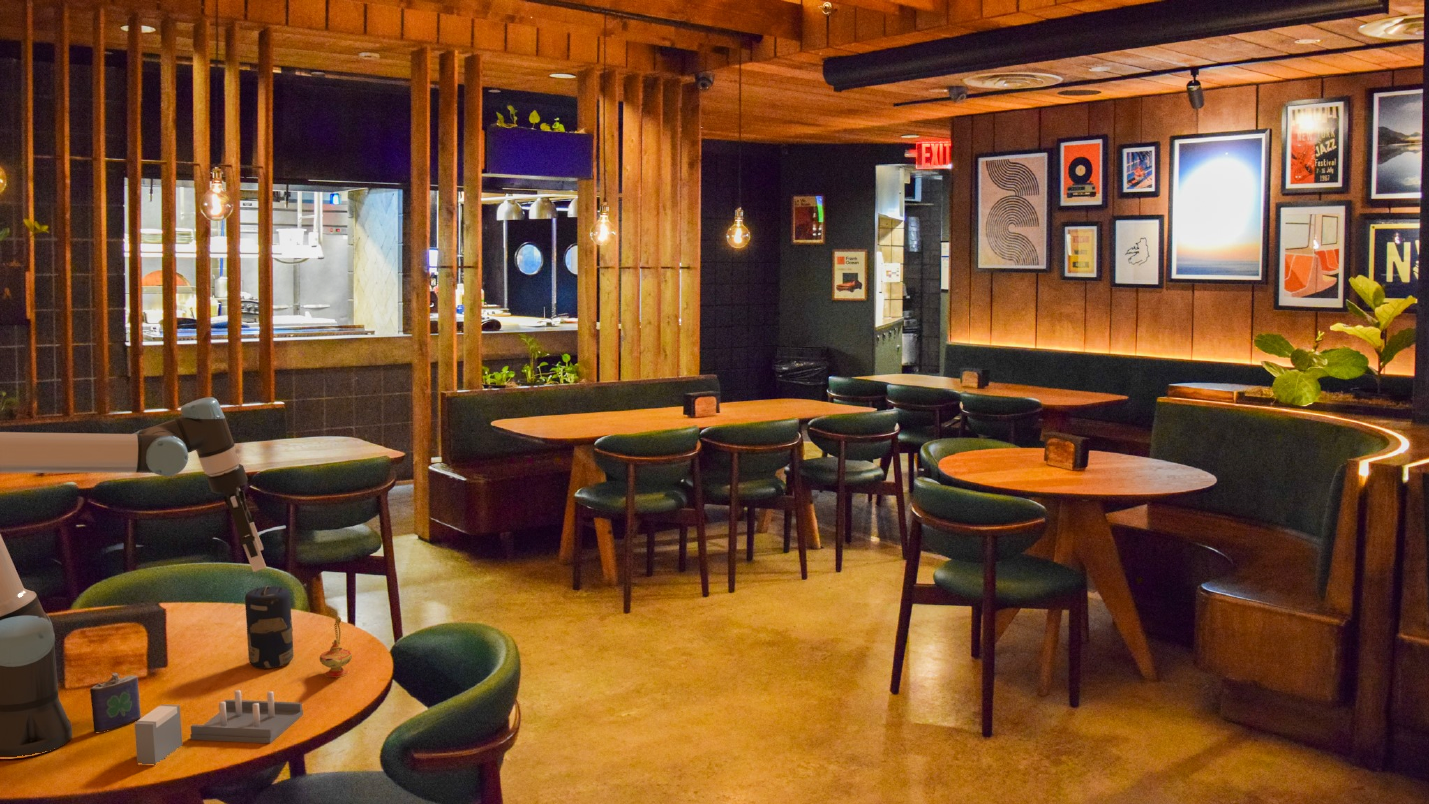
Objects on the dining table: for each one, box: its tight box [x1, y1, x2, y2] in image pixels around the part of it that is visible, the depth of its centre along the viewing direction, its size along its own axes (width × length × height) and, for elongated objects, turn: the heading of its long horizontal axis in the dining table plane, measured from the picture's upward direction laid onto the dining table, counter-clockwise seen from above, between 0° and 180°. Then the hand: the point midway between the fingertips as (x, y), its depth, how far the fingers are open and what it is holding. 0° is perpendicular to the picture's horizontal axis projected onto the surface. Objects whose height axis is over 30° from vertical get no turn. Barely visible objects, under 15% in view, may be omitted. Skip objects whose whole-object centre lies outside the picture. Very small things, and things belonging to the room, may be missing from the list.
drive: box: [134, 704, 183, 766], centre depth 227 cm, size 4×9×8 cm, turn 173°
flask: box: [89, 672, 142, 733], centre depth 240 cm, size 9×3×11 cm, turn 144°
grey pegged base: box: [190, 689, 304, 744], centre depth 240 cm, size 16×14×6 cm
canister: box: [244, 585, 294, 669], centre depth 274 cm, size 10×10×18 cm
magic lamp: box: [319, 616, 353, 678], centre depth 266 cm, size 7×18×11 cm, turn 9°
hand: (258, 560), depth 263 cm, fingers open, 13 cm apart
